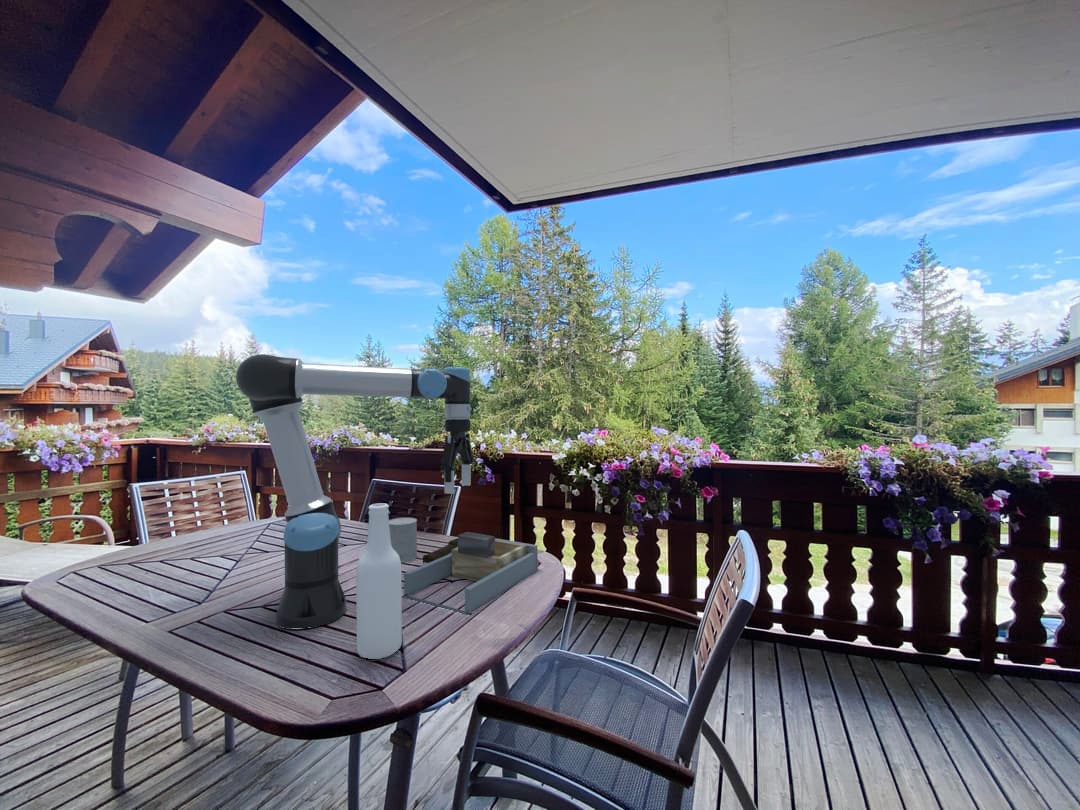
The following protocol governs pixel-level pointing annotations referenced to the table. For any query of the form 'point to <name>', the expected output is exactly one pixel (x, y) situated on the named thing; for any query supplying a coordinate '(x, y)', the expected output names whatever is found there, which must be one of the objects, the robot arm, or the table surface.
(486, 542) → the crate
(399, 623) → the alcohol
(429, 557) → the hand tool
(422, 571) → the bay
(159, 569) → the table surface
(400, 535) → the grey cylindrical piece
